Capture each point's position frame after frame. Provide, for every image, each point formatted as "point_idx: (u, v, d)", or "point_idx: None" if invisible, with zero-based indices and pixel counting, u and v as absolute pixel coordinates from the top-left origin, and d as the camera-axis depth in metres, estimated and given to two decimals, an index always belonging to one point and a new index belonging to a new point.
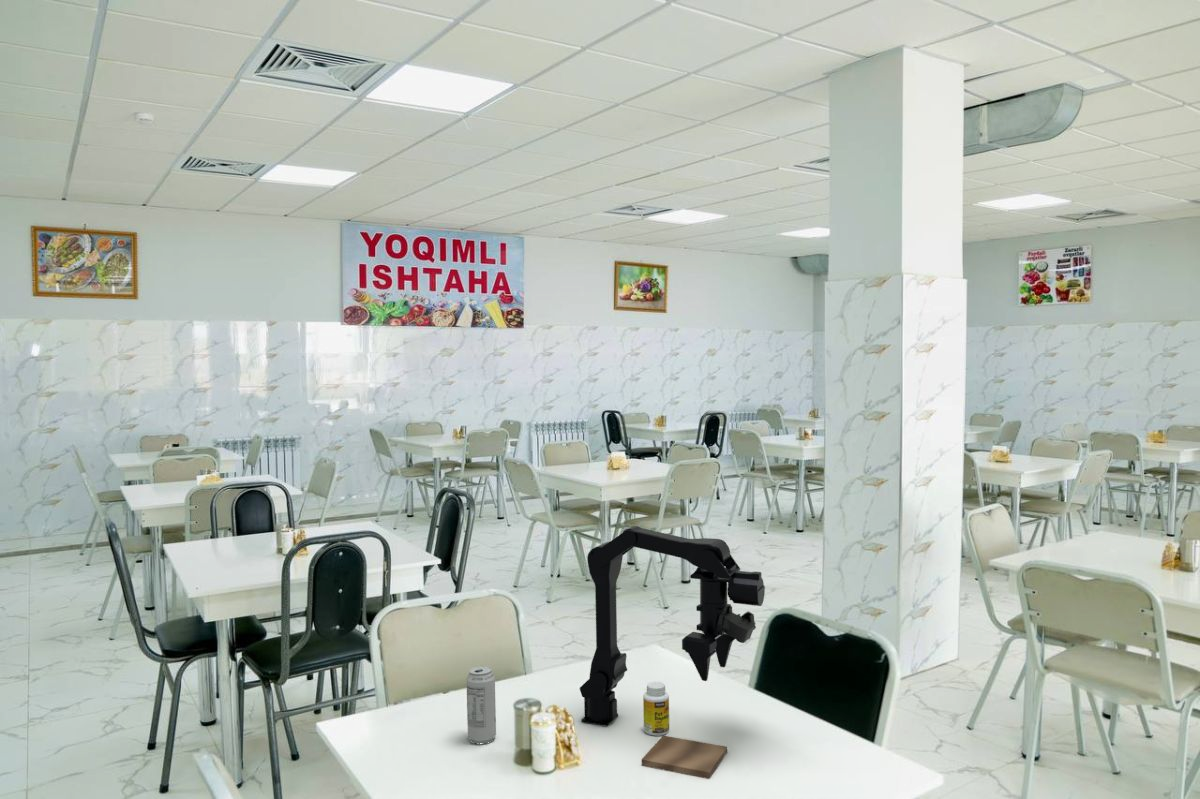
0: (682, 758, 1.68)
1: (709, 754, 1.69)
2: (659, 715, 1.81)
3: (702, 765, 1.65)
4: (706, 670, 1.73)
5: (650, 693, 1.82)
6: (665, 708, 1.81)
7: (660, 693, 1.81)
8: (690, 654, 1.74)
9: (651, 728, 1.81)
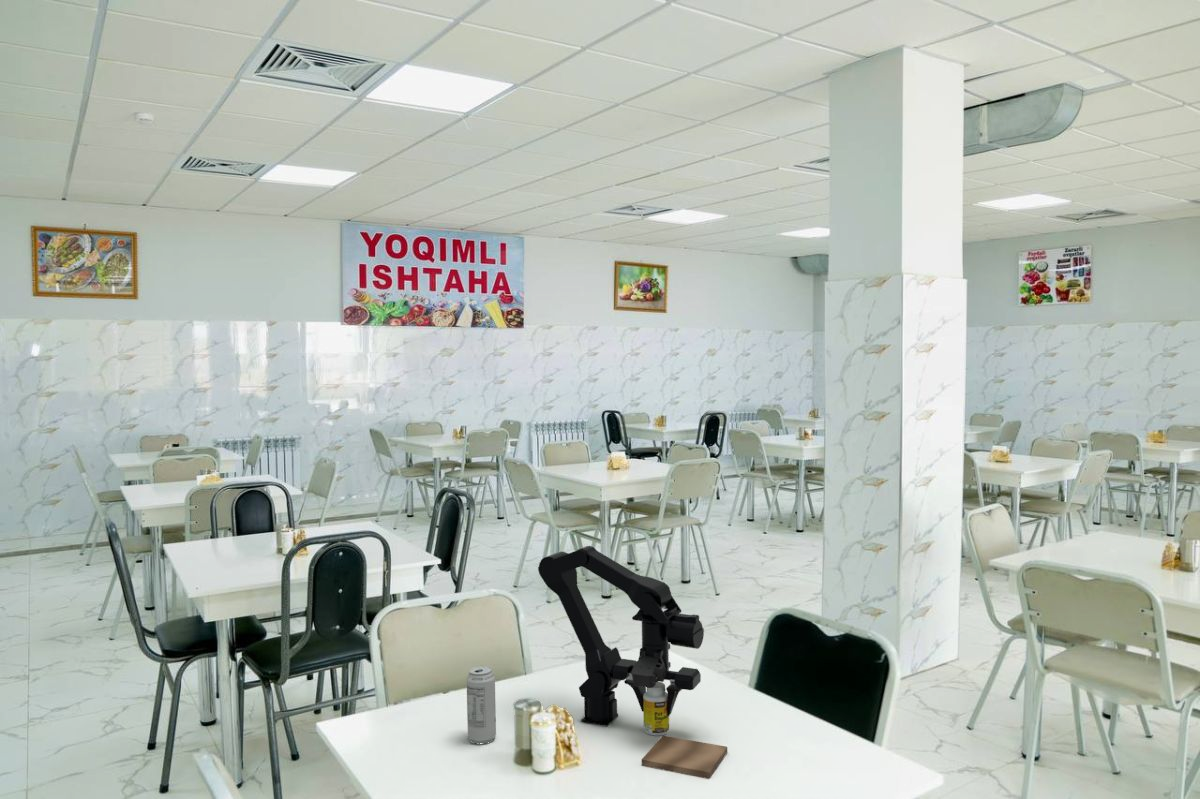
0: (682, 758, 1.68)
1: (709, 754, 1.69)
2: (659, 715, 1.81)
3: (702, 765, 1.65)
4: (638, 700, 1.84)
5: (650, 693, 1.82)
6: (665, 708, 1.81)
7: (660, 693, 1.81)
8: None
9: (651, 728, 1.81)
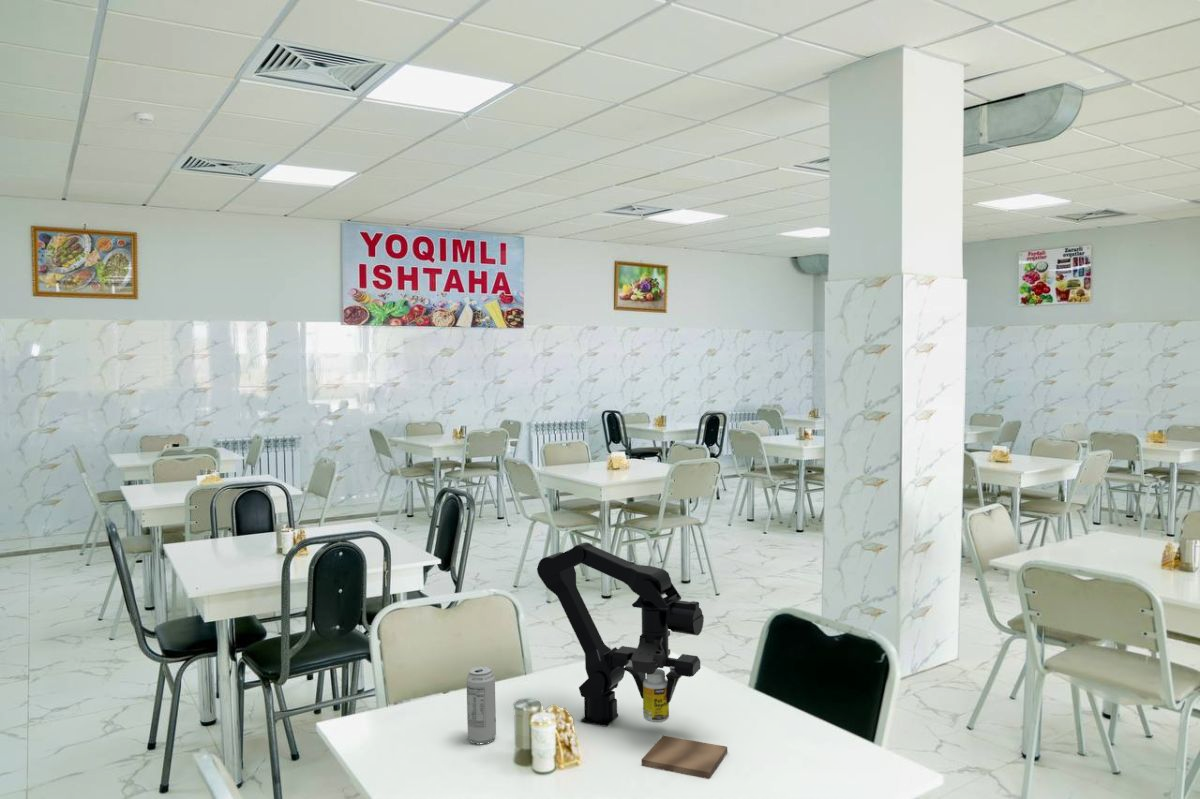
0: (682, 758, 1.68)
1: (709, 754, 1.69)
2: (659, 702, 1.80)
3: (702, 765, 1.65)
4: (638, 687, 1.84)
5: (650, 680, 1.82)
6: (665, 695, 1.81)
7: (660, 680, 1.81)
8: None
9: (651, 715, 1.81)
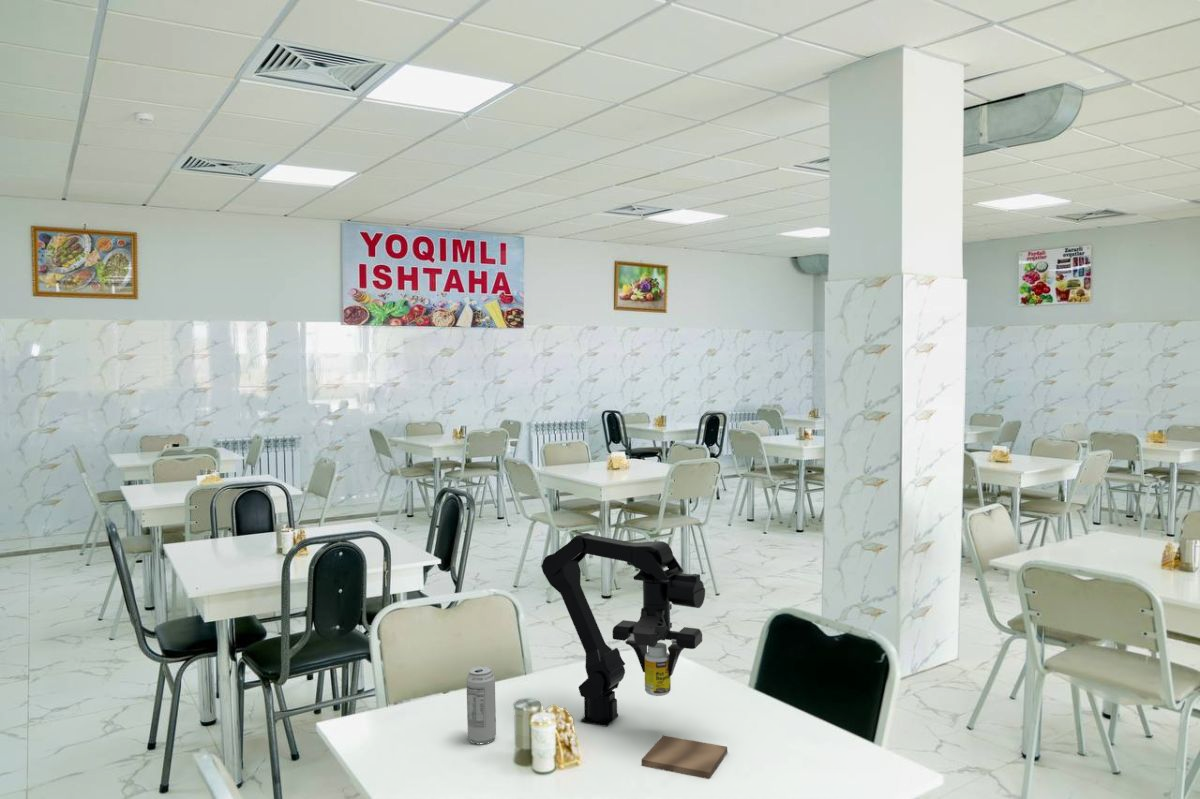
0: (682, 758, 1.68)
1: (709, 754, 1.69)
2: (661, 675, 1.79)
3: (702, 765, 1.65)
4: (639, 661, 1.83)
5: (651, 653, 1.81)
6: (667, 668, 1.80)
7: (661, 653, 1.80)
8: None
9: (653, 688, 1.80)
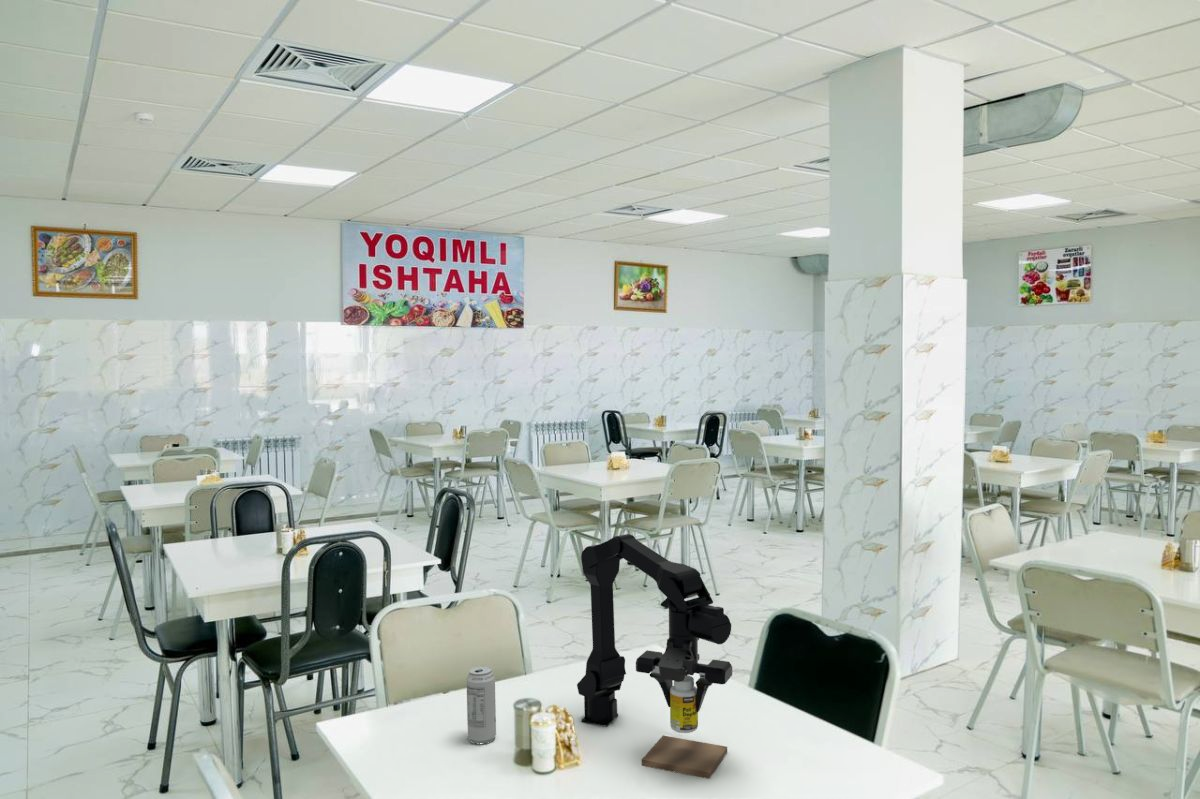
0: (682, 758, 1.68)
1: (709, 754, 1.69)
2: (688, 711, 1.67)
3: (702, 765, 1.65)
4: None
5: (678, 687, 1.68)
6: (694, 704, 1.68)
7: (689, 687, 1.68)
8: None
9: (679, 725, 1.68)
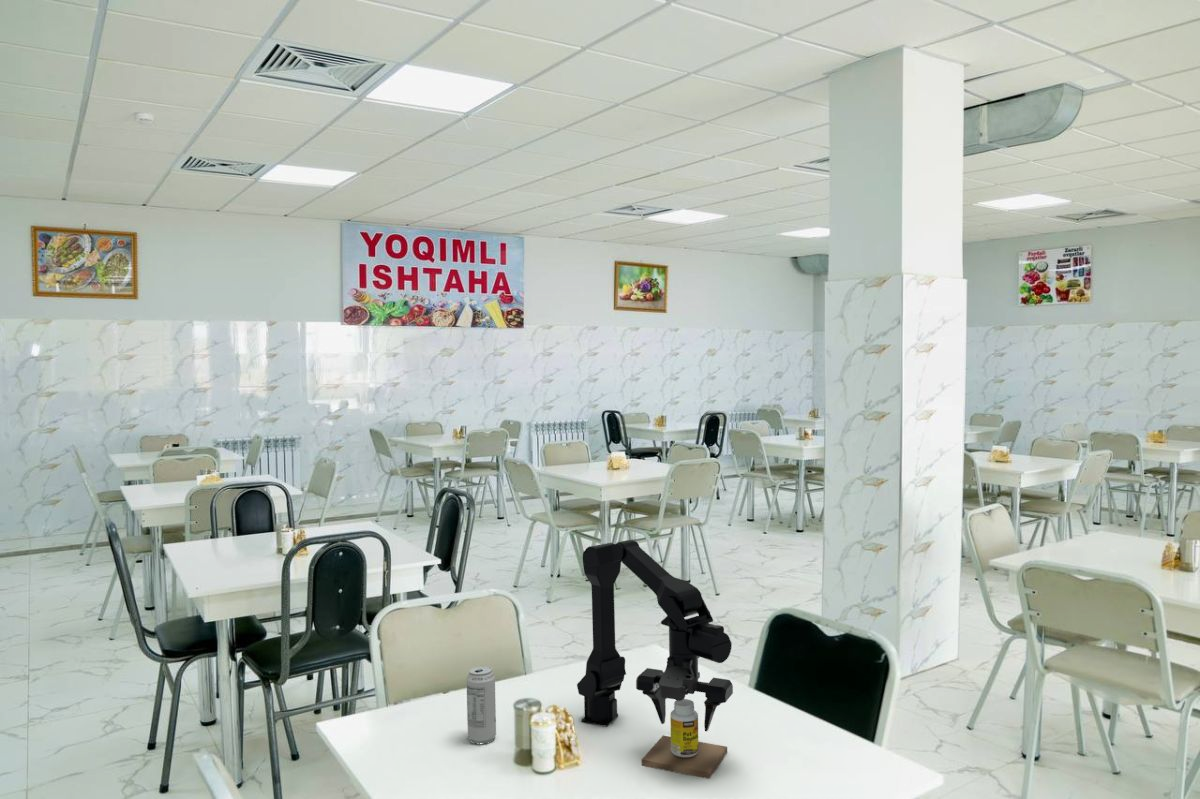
0: (682, 758, 1.68)
1: (709, 754, 1.69)
2: (688, 735, 1.67)
3: (702, 765, 1.65)
4: (657, 711, 1.71)
5: (678, 711, 1.69)
6: (695, 728, 1.68)
7: (689, 711, 1.68)
8: None
9: (680, 749, 1.68)
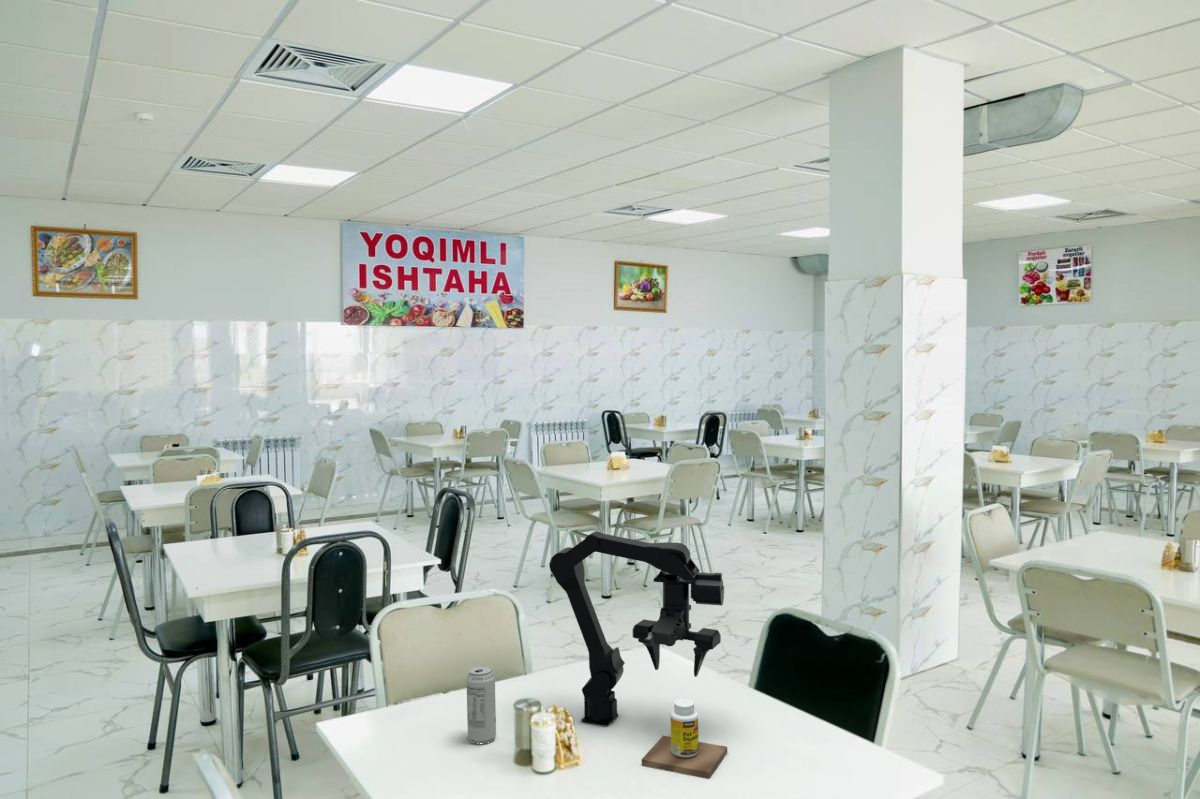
0: (682, 758, 1.68)
1: (709, 754, 1.69)
2: (688, 735, 1.67)
3: (702, 765, 1.65)
4: (651, 658, 1.87)
5: (678, 712, 1.69)
6: (695, 728, 1.68)
7: (689, 711, 1.68)
8: None
9: (680, 749, 1.68)
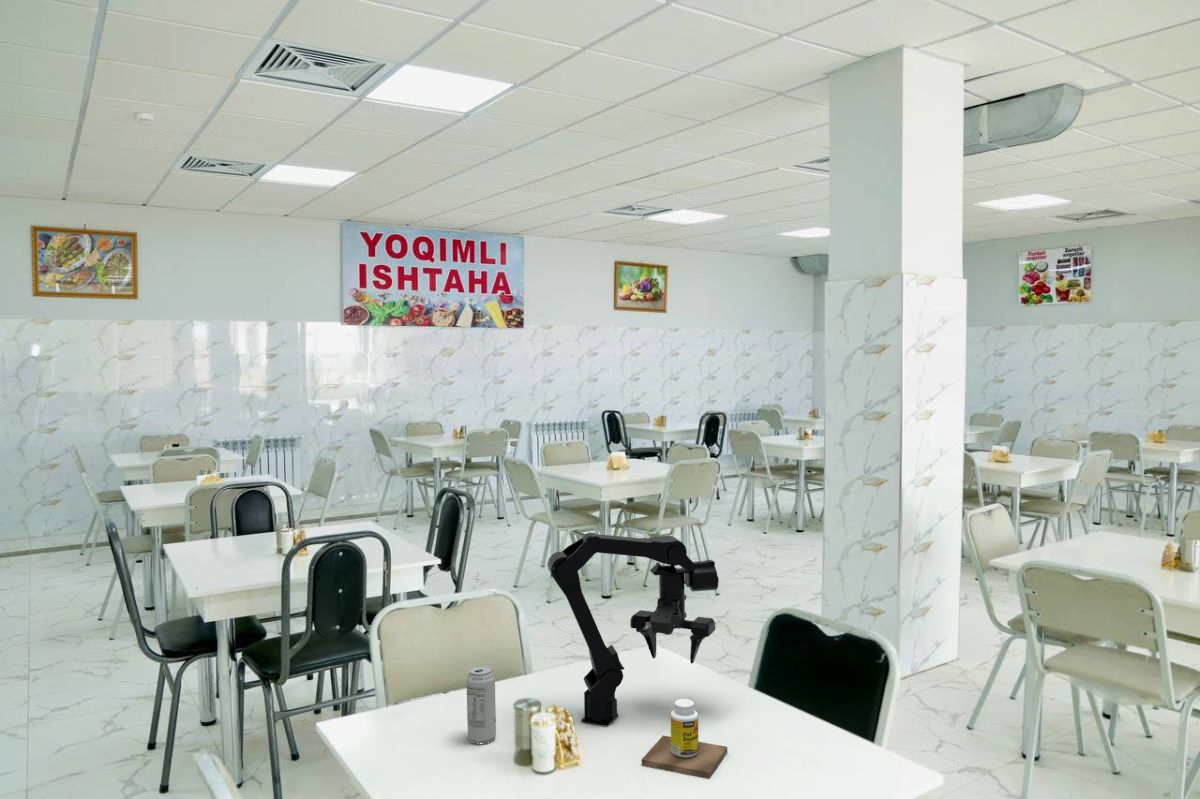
0: (682, 758, 1.68)
1: (709, 754, 1.69)
2: (688, 735, 1.67)
3: (702, 765, 1.65)
4: (649, 647, 1.94)
5: (678, 712, 1.69)
6: (695, 728, 1.68)
7: (689, 711, 1.68)
8: None
9: (680, 749, 1.68)
